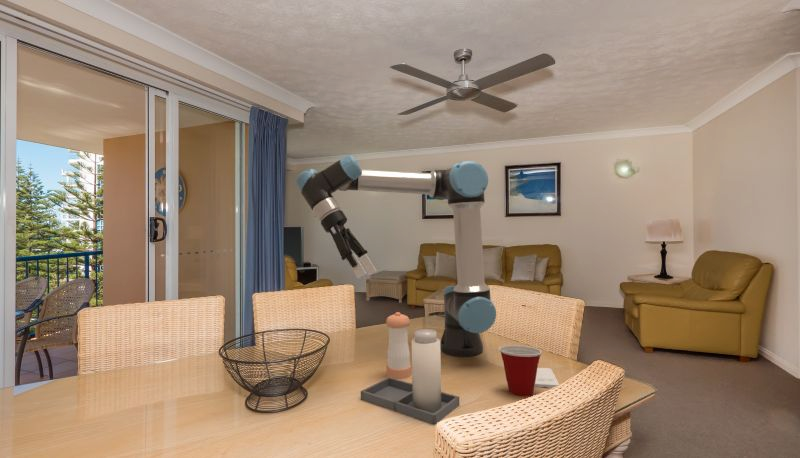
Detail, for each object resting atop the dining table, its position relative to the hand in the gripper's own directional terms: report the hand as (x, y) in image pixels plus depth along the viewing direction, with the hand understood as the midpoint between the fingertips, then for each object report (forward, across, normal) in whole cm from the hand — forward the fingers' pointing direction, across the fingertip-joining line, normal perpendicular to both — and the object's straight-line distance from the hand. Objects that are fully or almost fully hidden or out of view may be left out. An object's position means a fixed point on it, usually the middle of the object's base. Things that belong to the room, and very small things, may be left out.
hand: (368, 274), depth 113 cm
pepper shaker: (+30, -2, -9) cm, 32 cm away
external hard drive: (+52, -5, +24) cm, 58 cm away
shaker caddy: (+34, +16, -5) cm, 37 cm away
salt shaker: (+36, +18, -1) cm, 40 cm away
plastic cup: (+49, +6, +18) cm, 52 cm away
